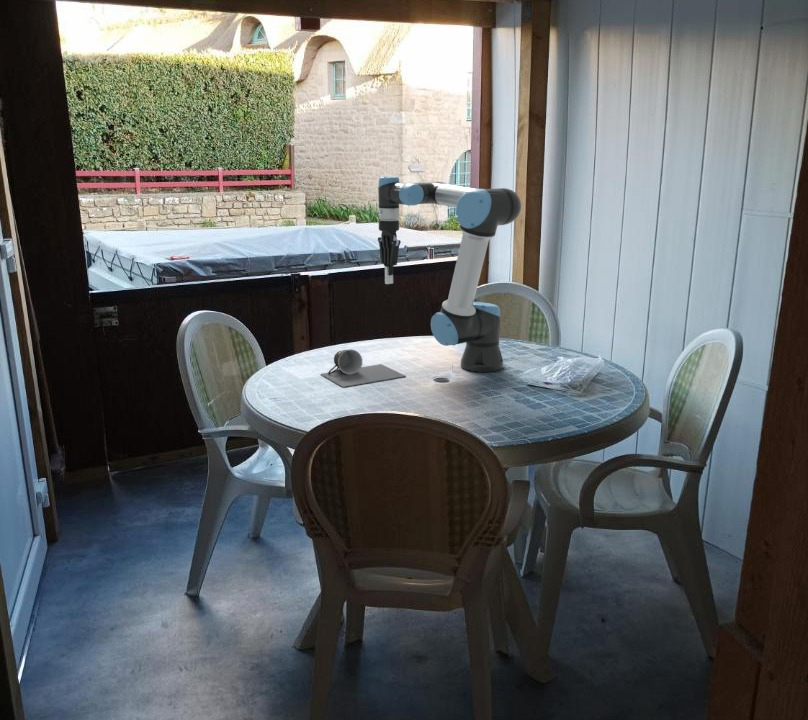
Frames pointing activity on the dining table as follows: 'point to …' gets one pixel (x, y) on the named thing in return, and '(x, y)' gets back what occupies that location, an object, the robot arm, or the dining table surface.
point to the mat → (363, 375)
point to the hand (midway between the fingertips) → (389, 283)
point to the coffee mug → (347, 361)
